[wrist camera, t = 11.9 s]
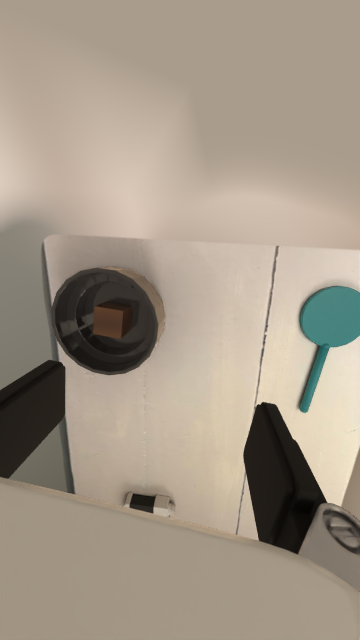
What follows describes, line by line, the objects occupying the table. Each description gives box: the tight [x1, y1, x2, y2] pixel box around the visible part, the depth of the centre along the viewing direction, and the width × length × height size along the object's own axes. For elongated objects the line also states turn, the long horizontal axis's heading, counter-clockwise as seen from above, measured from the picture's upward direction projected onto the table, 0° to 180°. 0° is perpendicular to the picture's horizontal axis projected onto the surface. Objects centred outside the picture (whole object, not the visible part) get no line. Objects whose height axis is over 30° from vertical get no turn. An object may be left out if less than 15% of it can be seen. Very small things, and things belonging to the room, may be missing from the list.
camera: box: [124, 492, 176, 518], centre depth 43 cm, size 15×7×10 cm
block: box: [93, 301, 132, 339], centre depth 33 cm, size 4×4×4 cm
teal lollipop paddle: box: [300, 286, 360, 413], centre depth 33 cm, size 21×9×1 cm, turn 172°
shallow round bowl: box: [52, 267, 165, 375], centre depth 33 cm, size 15×15×6 cm
